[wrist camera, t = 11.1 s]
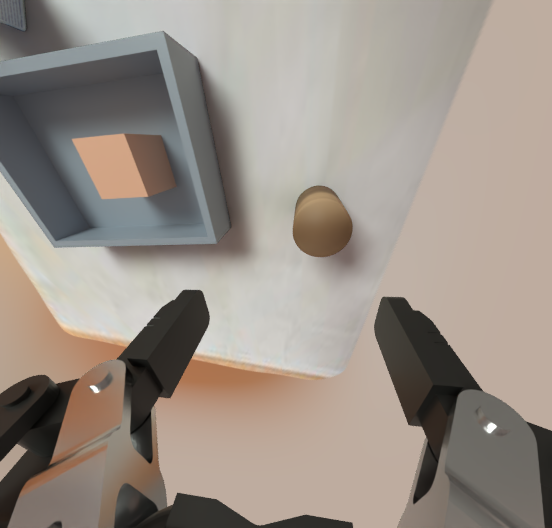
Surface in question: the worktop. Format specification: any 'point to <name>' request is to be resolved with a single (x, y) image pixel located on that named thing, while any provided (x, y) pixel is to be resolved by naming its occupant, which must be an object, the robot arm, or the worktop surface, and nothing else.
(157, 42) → the tote
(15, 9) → the medicine box
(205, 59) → the worktop surface
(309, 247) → the walnut cylinder
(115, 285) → the worktop surface
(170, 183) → the terracotta cube
